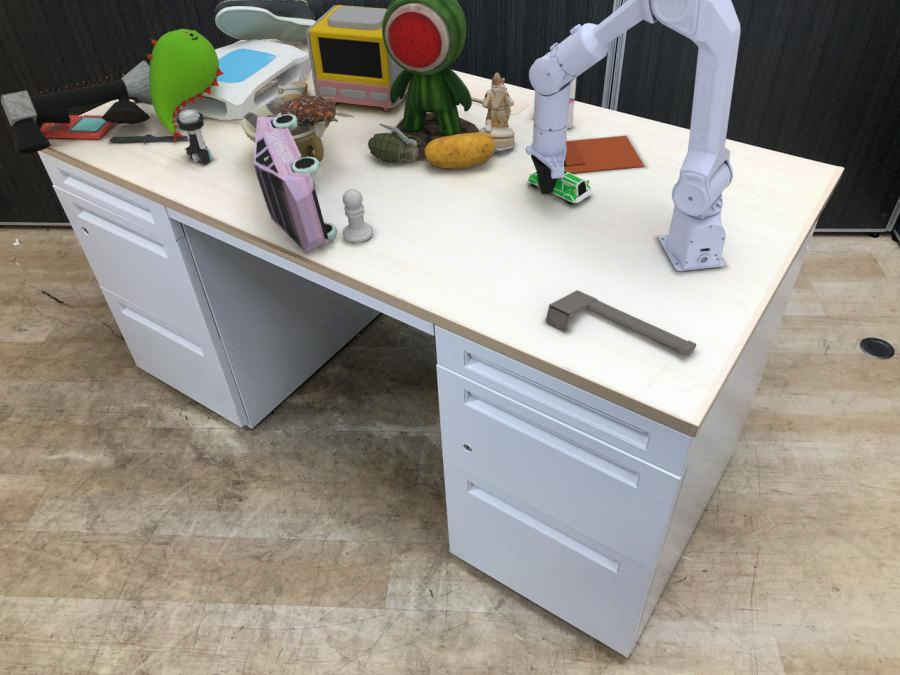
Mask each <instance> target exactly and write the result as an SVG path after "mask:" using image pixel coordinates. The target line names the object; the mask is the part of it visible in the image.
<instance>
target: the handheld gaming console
mask: <svg viewBox="0 0 900 675" xmlns="http://www.w3.org/2000/svg"><path fill="white" fill-rule="evenodd" d="M102 116H103V115H98V114H97V115H94V114H92V115H91V114H83V115H82V114H69V117H70V124H68V123H42V127H41V129H40V130H41V131H42V132H43V134H44V135H45V136H46V138H52V139H53V138H54V139H56V138H57V139H85V140H99V139H101V138H102V137H103V136H104V135H105V134H106V133H107V132H108V131H109V130H110V129H111V128H112V127H114V125H116V123H112V122H108V121H105V120H103V119H102Z"/></svg>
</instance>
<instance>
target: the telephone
mask: <svg viewBox="0 0 900 675" xmlns="http://www.w3.org/2000/svg"><path fill="white" fill-rule="evenodd" d="M149 70H150V63H148V62H147V61H146V60H141V61H140V63H138V64H137V65H136V66H134V67H133V68H132V69H131V70H130V69H129V70H127V73H126V72H125V71H122V72H121V73H120V72H116V75H115V74H113V73H111V74H110V77H109V76H108V75H107V74H106V75H105V78H103V76H100V77H99V78H98V79H97V78H93V81H92V80H90V79H88V81H87V83H86V82H85V81H84V80H83V81H82V82H81V83H82V84H80V83H79V82H76V83H75V85H76V86H75V85H74V84H73V83H70V84H69V86H67V85H64V86H63V88H62V87H58V90H57V89H55V88H52V89H51V90H49V89H46V93H45V92H43V91H40V93H39V94H38V93H34V96H33V95H30V94H29V92H28V90H27V89H26V90H21V91H16V92H10V93H5V94H1V95H0V103H1V106H2V108H3V111H4V113H5V115H6V118H7V120H8V122H9V125H10V127H11V128H13V138H14V147H15V148H14V149H15V153H16V154H17V155H26V154H27V155H28V154H34V153H37V152H41V151H45V150H46V149H49V148H50V147H51V146H52V143H51V141H50V140H49V139H48V137H46V136H45V135H44V134H43V132H42V131H41V130H40V129H41V127H42V124H43V123H68V124H70V117H69V115H70V114H69V110H74V109H78V108H83V107H88V106H94V105H97V104H101V103H102V104H103V103H109V102H112V101H115V102H114V103H112V105H111V106H110V107H109V108H108V110H106V112H104V114H102V115H101V116H102V119H103V120H105V121H108V122H112V123H115V125H132V124H133V125H135V124H140V123H144V122H146V121H148V120H150V118H151V116H150V115H149V114H148V113H147V111H145V110H144V109H143V108H142V107H140V106H139V105H138V104H137V103H134V101H137V102H139V103H142V104H146V105H151V106H153V103H152V98H151V93H150V84H149ZM118 77H120V79H119V78H118ZM108 79H109V81H108ZM113 79H115V80H113ZM102 82H103V83H102ZM85 85H86V86H85Z"/></svg>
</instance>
